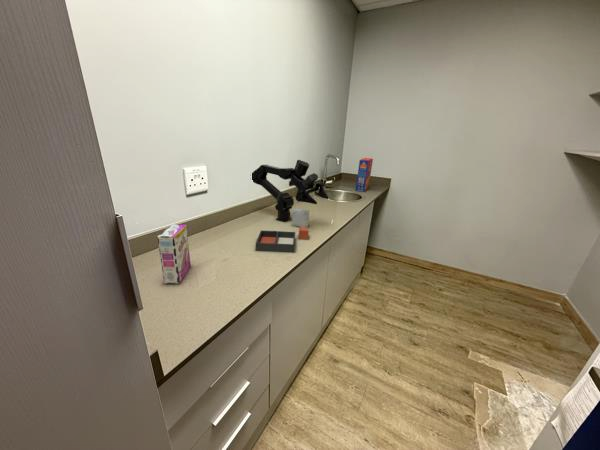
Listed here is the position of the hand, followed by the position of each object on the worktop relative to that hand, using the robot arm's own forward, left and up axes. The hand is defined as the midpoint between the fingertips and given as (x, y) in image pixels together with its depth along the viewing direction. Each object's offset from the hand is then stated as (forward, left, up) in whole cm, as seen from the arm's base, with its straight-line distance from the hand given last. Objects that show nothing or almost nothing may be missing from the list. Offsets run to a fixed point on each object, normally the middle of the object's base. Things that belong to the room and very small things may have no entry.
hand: (322, 200), depth 119 cm
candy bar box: (-22, -65, -17) cm, 70 cm away
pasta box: (-14, +127, -17) cm, 129 cm away
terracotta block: (-3, -12, -16) cm, 20 cm away
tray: (-9, -26, -16) cm, 32 cm away
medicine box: (-12, +1, -17) cm, 21 cm away
